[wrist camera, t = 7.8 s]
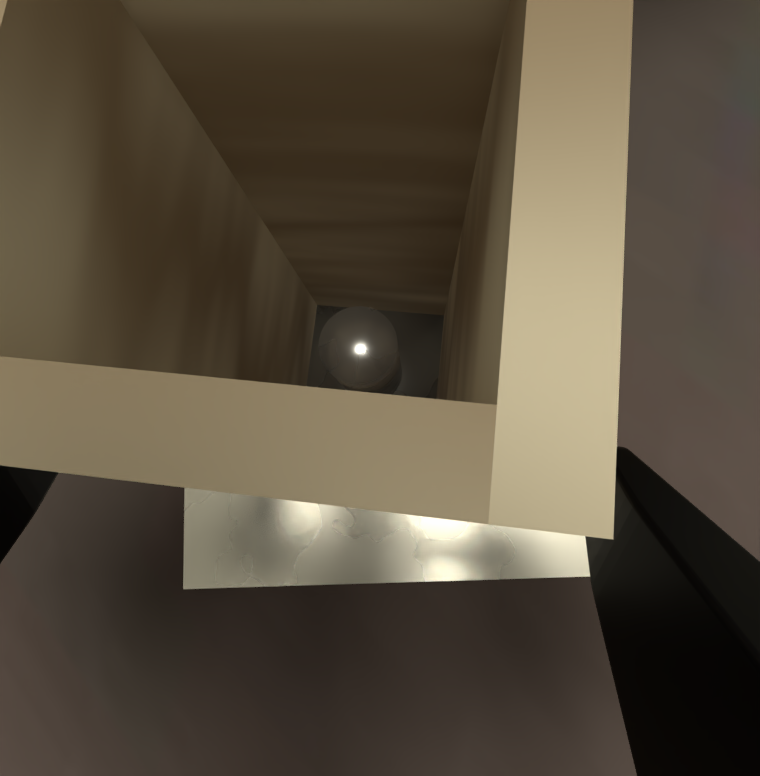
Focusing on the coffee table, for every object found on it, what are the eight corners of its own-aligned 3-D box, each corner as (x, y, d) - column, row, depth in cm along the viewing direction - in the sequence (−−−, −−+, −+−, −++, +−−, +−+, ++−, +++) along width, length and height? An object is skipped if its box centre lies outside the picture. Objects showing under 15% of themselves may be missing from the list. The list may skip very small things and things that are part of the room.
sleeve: (454, 472, 15) (612, 539, 3) (274, 452, 15) (-201, 441, 4) (469, 294, 16) (641, -208, 4) (297, 281, 16) (-23, -195, 4)
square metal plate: (591, 571, 16) (689, 635, 10) (191, 584, 16) (78, 649, 11) (548, 189, 18) (610, 68, 12) (195, 220, 19) (102, 121, 13)
